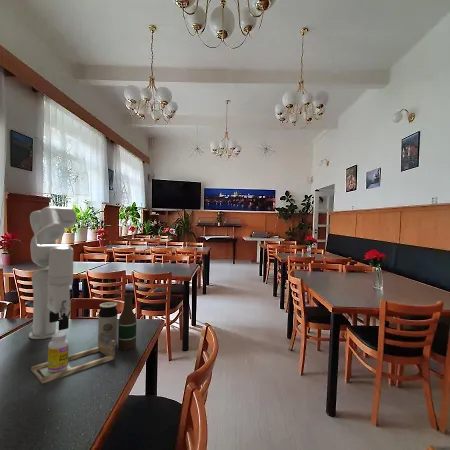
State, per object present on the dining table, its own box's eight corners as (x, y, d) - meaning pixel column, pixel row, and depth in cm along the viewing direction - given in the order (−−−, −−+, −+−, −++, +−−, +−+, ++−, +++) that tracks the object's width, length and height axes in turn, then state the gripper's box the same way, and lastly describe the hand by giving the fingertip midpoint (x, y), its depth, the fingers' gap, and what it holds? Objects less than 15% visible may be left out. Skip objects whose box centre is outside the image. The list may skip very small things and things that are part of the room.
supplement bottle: (58, 374, 107) (59, 338, 107) (43, 372, 108) (44, 336, 108) (72, 365, 113) (72, 332, 113) (56, 363, 115) (57, 330, 115)
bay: (43, 385, 100) (44, 363, 100) (31, 370, 110) (31, 350, 110) (117, 359, 120) (118, 341, 120) (102, 349, 129) (102, 332, 129)
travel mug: (101, 340, 139) (101, 301, 139) (118, 340, 140) (119, 301, 139) (95, 347, 131) (96, 306, 131) (114, 347, 132) (115, 306, 131)
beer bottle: (120, 343, 136) (121, 291, 136) (137, 343, 137) (139, 291, 136) (115, 350, 128) (116, 295, 128) (133, 350, 129) (135, 295, 129)
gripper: (41, 277, 113) (39, 321, 114) (57, 286, 102) (55, 335, 102) (62, 274, 119) (61, 317, 120) (79, 283, 107) (78, 329, 108)
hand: (58, 325), depth 111 cm, fingers open, 9 cm apart
